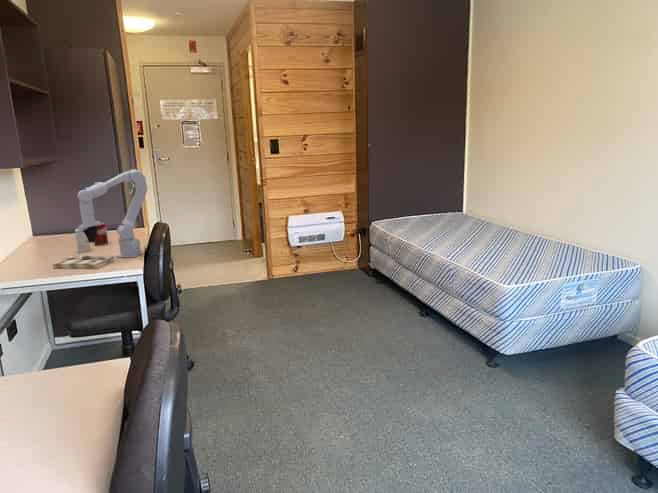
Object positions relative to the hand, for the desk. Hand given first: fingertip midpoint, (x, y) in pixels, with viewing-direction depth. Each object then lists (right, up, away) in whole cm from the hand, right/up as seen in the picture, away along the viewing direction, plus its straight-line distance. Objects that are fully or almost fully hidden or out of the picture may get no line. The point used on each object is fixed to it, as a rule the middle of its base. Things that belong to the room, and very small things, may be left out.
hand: (92, 242), depth 236 cm
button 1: (-9, -9, -1) cm, 13 cm away
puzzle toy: (+3, -1, +36) cm, 36 cm away
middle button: (-2, -9, -3) cm, 9 cm away
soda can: (-13, -1, +37) cm, 39 cm away
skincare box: (-15, -5, +22) cm, 27 cm away
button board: (-2, -11, -4) cm, 12 cm away
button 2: (+6, -10, -4) cm, 12 cm away
